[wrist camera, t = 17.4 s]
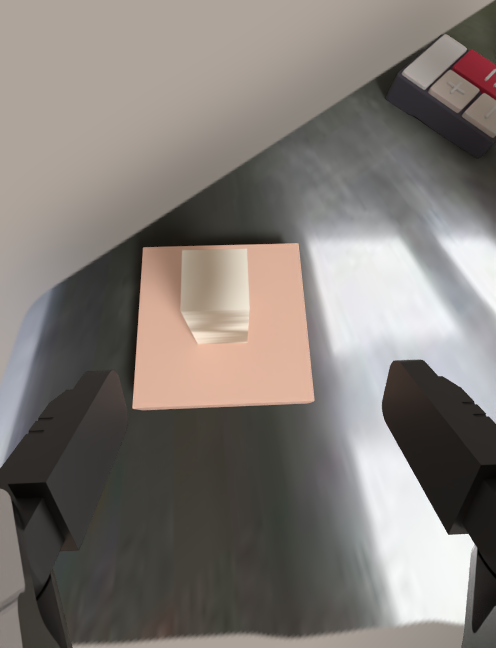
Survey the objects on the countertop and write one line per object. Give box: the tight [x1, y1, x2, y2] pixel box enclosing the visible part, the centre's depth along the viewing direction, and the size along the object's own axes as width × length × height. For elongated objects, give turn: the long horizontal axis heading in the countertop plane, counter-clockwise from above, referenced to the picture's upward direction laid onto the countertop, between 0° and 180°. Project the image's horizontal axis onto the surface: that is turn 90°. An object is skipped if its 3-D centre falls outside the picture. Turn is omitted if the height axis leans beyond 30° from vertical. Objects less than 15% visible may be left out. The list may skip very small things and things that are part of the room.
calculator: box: [385, 34, 496, 158], centre depth 42 cm, size 11×4×15 cm
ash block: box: [181, 249, 250, 344], centre depth 26 cm, size 5×5×9 cm
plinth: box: [133, 243, 314, 410], centre depth 32 cm, size 16×16×3 cm
